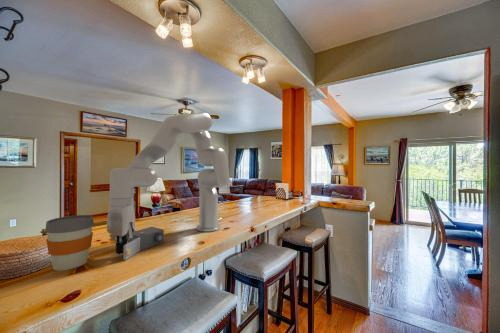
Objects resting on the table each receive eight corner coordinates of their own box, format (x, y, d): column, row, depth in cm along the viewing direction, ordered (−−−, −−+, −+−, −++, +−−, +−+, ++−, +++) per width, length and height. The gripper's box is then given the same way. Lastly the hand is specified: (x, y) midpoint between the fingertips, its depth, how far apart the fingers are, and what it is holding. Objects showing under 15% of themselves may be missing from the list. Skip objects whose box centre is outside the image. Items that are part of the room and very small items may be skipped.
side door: (123, 260, 76) (123, 245, 76) (138, 250, 84) (138, 237, 84) (127, 260, 76) (127, 245, 76) (141, 250, 84) (141, 237, 84)
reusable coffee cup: (84, 270, 69) (84, 222, 69) (35, 275, 65) (35, 225, 65) (99, 254, 81) (99, 214, 81) (58, 258, 77) (58, 216, 77)
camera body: (151, 238, 98) (151, 225, 98) (166, 242, 94) (166, 228, 93) (127, 247, 88) (127, 232, 88) (142, 251, 84) (142, 235, 84)
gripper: (99, 201, 79) (98, 252, 79) (124, 205, 72) (124, 261, 72) (119, 199, 86) (119, 245, 86) (144, 202, 79) (144, 253, 79)
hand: (121, 252), depth 79 cm, fingers closed
